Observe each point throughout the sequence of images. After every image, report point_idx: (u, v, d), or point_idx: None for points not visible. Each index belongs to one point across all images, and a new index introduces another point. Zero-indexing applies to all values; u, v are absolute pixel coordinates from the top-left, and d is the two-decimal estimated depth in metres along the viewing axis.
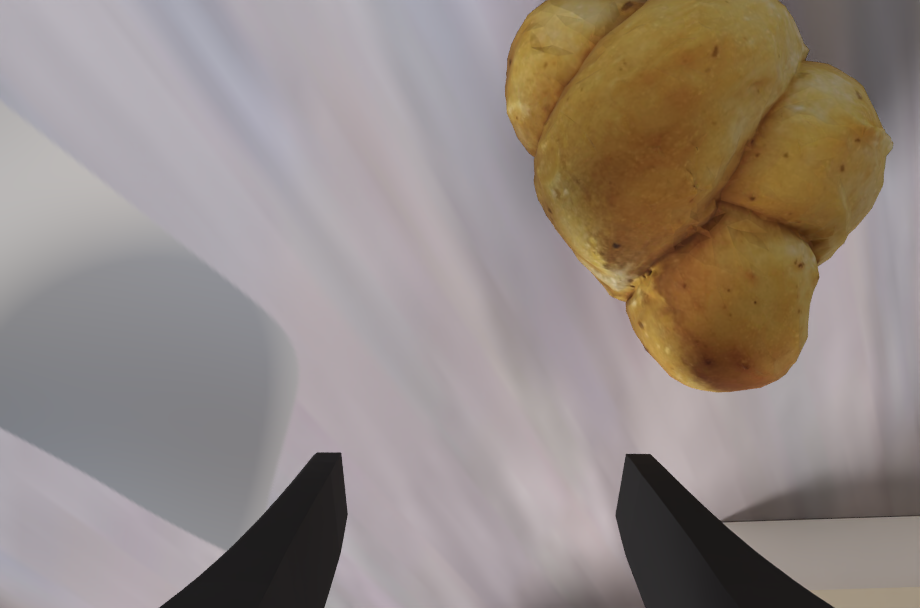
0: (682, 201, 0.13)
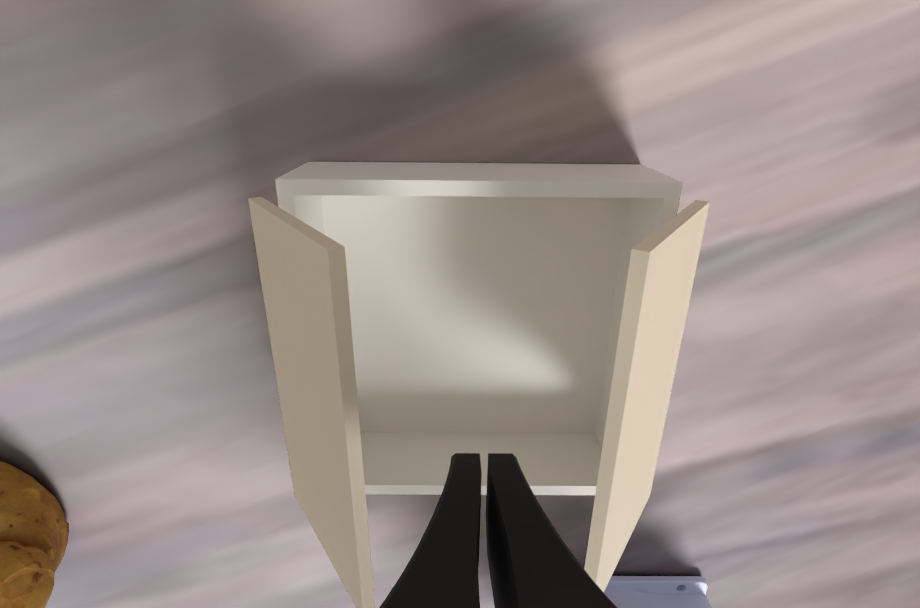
0: None
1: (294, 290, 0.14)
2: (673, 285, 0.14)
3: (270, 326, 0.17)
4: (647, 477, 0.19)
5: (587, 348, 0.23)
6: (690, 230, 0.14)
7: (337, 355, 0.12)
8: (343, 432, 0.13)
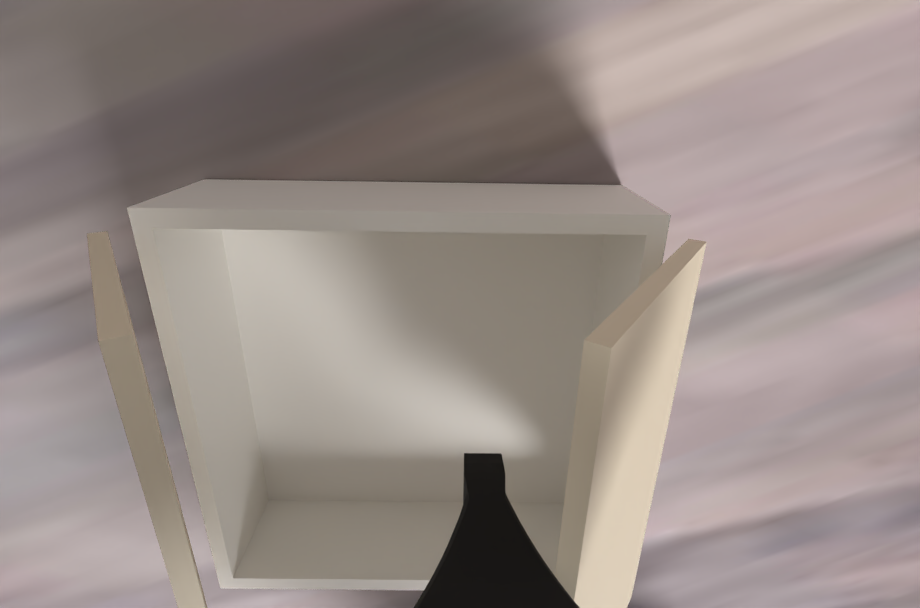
0: None
1: None
2: (655, 365, 0.10)
3: None
4: (626, 585, 0.15)
5: (558, 406, 0.19)
6: (679, 287, 0.10)
7: None
8: (172, 585, 0.09)
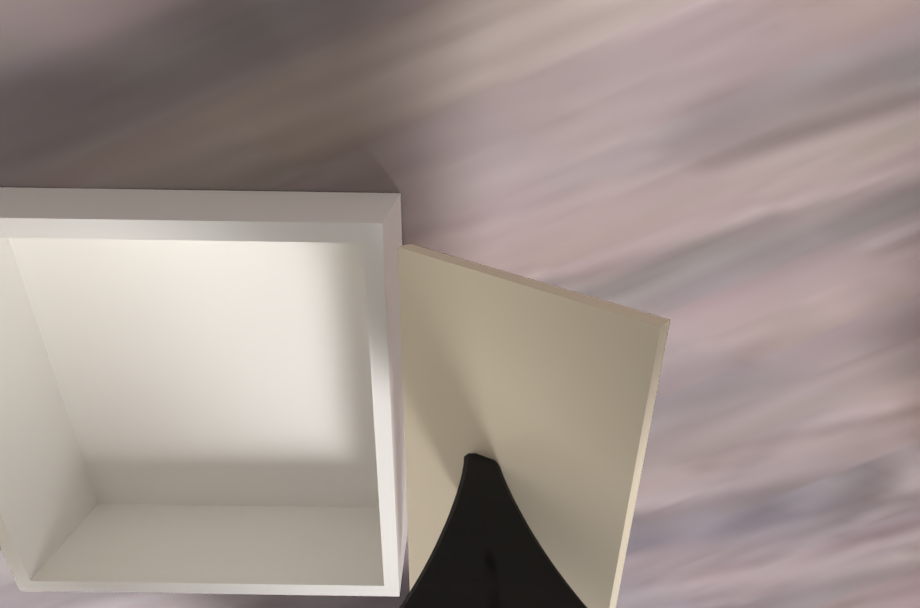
0: None
1: None
2: None
3: None
4: None
5: (368, 411, 0.19)
6: None
7: None
8: None
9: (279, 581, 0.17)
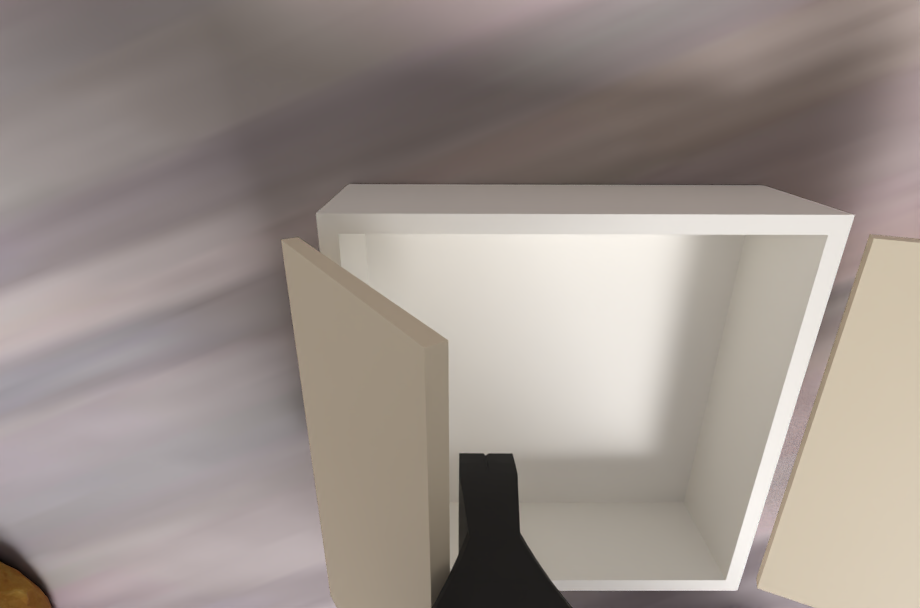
0: None
1: (351, 377, 0.10)
2: None
3: (307, 401, 0.13)
4: None
5: (682, 406, 0.19)
6: None
7: (427, 494, 0.08)
8: (427, 589, 0.09)
9: (618, 577, 0.17)
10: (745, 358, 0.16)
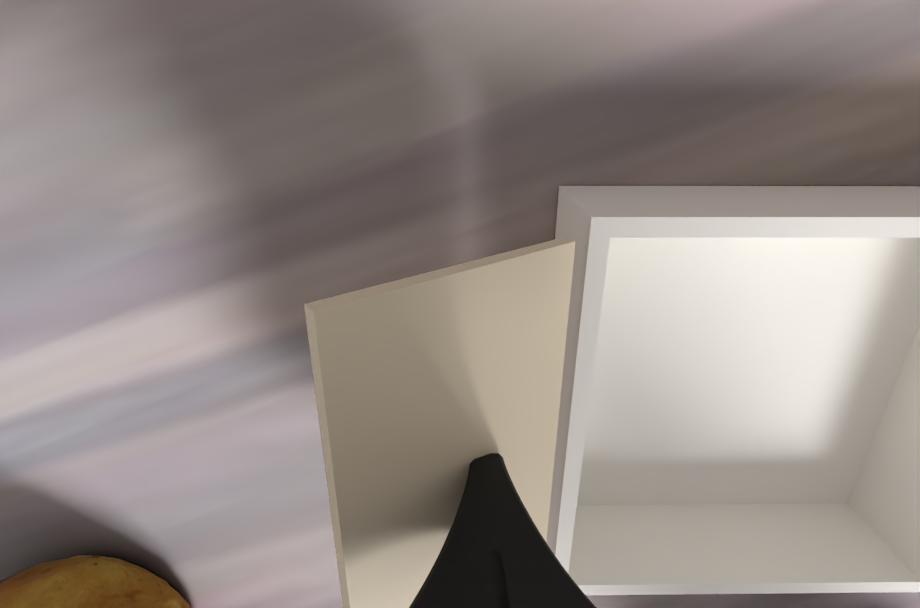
0: None
1: None
2: None
3: None
4: None
5: (862, 407, 0.19)
6: None
7: (321, 432, 0.10)
8: None
9: (812, 579, 0.17)
10: None
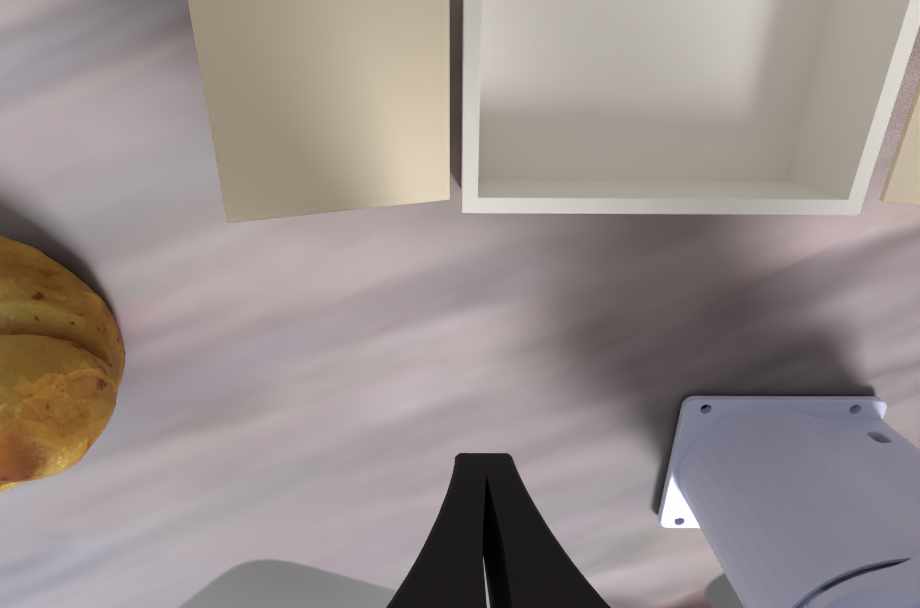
0: None
1: None
2: None
3: None
4: None
5: (793, 47, 0.18)
6: None
7: None
8: None
9: (735, 199, 0.17)
10: None
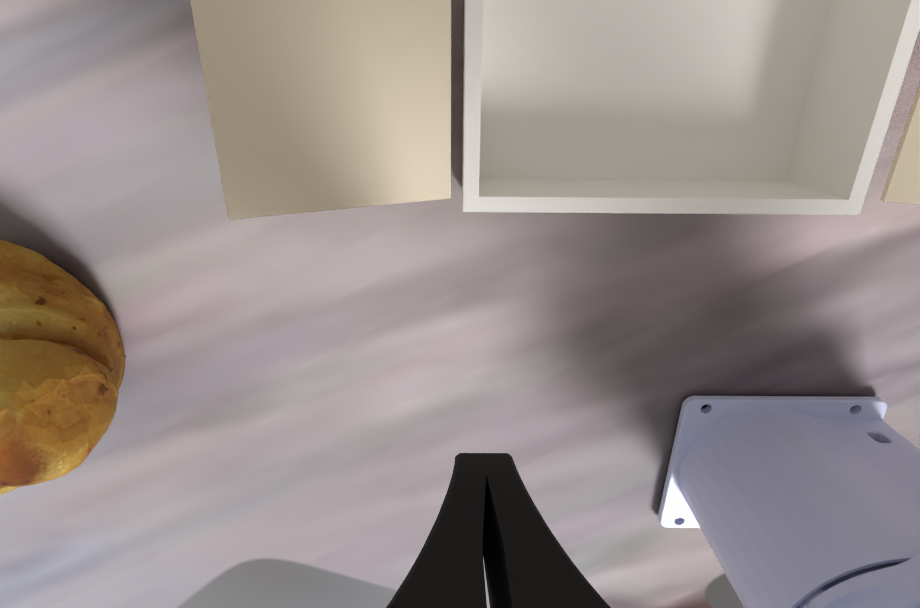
0: None
1: None
2: None
3: None
4: None
5: (794, 47, 0.18)
6: None
7: None
8: None
9: (736, 198, 0.17)
10: None
